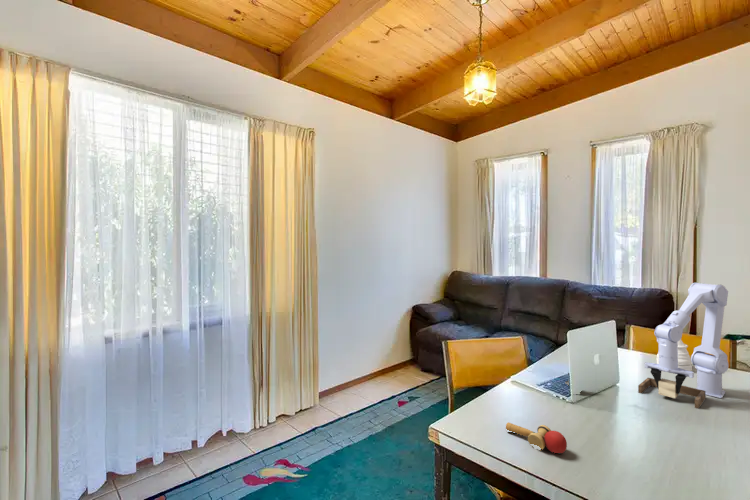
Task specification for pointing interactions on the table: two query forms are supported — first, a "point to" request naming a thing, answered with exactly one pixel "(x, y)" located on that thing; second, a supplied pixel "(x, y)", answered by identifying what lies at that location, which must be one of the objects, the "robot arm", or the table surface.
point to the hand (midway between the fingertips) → (668, 390)
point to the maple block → (667, 388)
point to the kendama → (542, 437)
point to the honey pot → (682, 357)
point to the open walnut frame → (684, 390)
